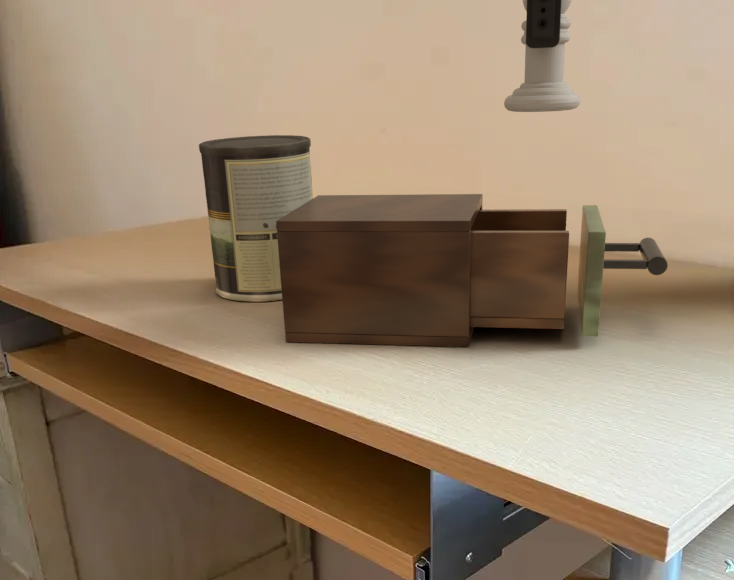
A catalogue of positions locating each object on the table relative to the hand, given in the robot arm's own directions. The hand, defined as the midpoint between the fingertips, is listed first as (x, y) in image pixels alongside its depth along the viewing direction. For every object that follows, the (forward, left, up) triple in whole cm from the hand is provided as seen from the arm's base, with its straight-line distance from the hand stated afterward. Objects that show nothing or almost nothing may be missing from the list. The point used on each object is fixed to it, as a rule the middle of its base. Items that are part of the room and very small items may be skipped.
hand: (543, 46), depth 58 cm
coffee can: (+26, -13, -21) cm, 36 cm away
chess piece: (0, 0, -4) cm, 4 cm away
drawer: (0, -3, -20) cm, 20 cm away
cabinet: (+12, -3, -21) cm, 24 cm away
